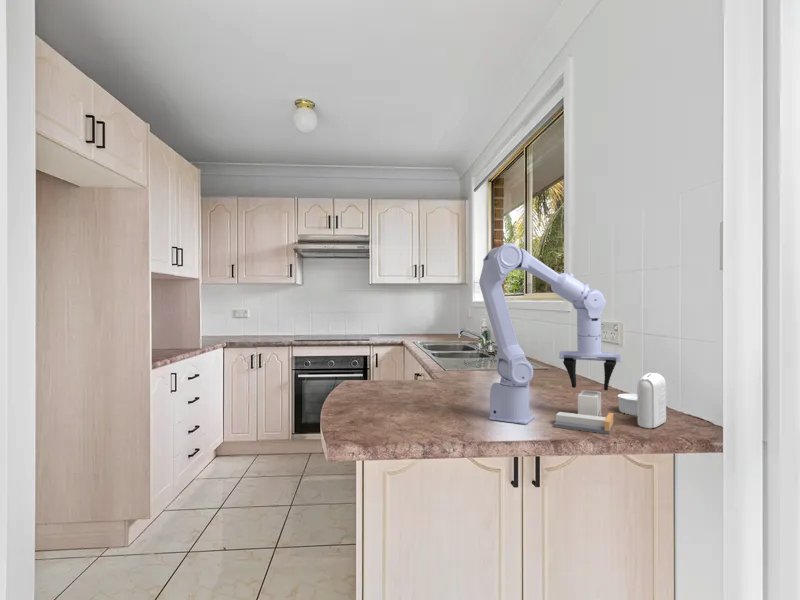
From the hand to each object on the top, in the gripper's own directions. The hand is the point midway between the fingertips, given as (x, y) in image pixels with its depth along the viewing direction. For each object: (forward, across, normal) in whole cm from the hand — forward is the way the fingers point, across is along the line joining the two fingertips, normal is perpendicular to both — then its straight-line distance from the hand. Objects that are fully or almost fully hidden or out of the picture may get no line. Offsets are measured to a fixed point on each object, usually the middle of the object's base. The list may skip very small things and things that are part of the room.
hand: (589, 388), depth 115 cm
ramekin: (+8, -10, -11) cm, 17 cm away
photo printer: (+8, -14, 0) cm, 16 cm away
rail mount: (+7, 0, +10) cm, 12 cm away
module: (+7, 0, 0) cm, 7 cm away
